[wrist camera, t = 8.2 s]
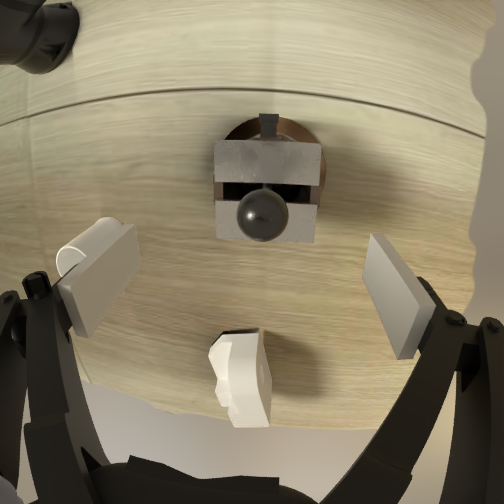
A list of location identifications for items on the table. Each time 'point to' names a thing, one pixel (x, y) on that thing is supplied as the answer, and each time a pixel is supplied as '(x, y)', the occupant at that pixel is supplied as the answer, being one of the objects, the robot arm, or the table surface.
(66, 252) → the mug
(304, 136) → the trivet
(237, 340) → the tape dispenser
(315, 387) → the table surface
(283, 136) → the wooden tankard
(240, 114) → the table surface
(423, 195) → the table surface
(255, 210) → the plunger
